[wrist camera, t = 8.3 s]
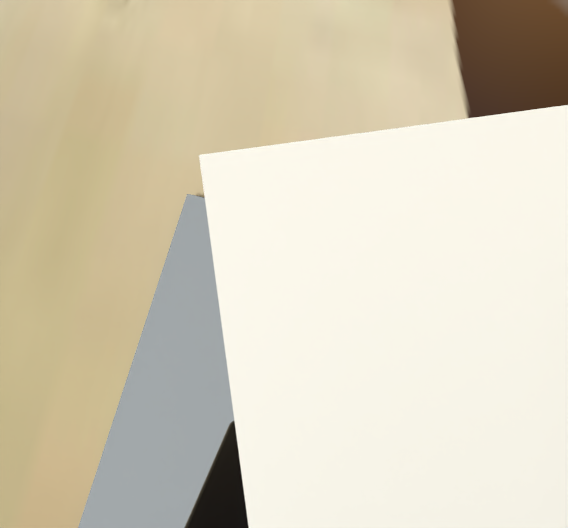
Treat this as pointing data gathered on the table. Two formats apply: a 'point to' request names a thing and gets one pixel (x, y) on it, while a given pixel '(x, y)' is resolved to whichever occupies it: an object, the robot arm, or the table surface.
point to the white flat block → (398, 323)
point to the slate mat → (168, 395)
